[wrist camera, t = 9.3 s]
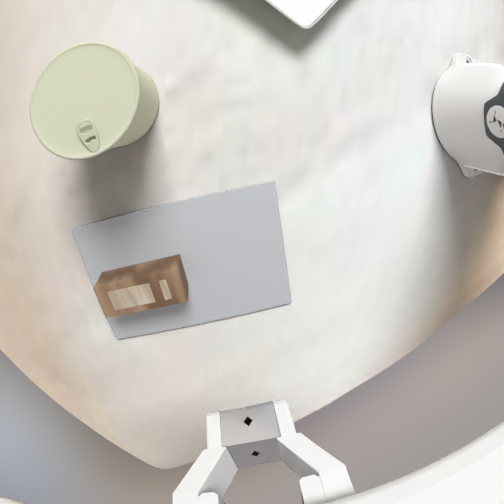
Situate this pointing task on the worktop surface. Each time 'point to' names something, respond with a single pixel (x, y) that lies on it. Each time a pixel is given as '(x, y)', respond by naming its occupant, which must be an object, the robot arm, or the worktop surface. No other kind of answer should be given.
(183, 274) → the brown box
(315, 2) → the square plate
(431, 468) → the robot arm
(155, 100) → the can
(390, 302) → the worktop surface
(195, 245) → the grey mat
